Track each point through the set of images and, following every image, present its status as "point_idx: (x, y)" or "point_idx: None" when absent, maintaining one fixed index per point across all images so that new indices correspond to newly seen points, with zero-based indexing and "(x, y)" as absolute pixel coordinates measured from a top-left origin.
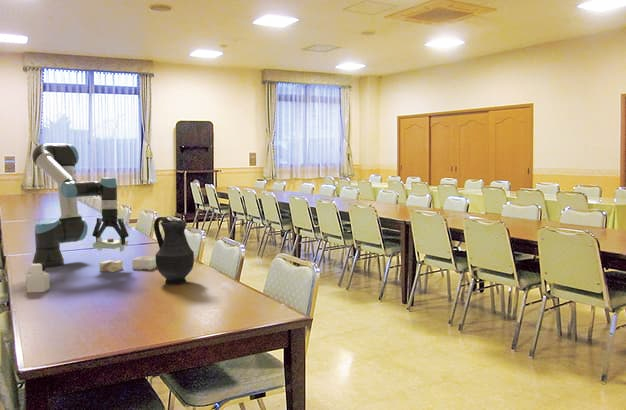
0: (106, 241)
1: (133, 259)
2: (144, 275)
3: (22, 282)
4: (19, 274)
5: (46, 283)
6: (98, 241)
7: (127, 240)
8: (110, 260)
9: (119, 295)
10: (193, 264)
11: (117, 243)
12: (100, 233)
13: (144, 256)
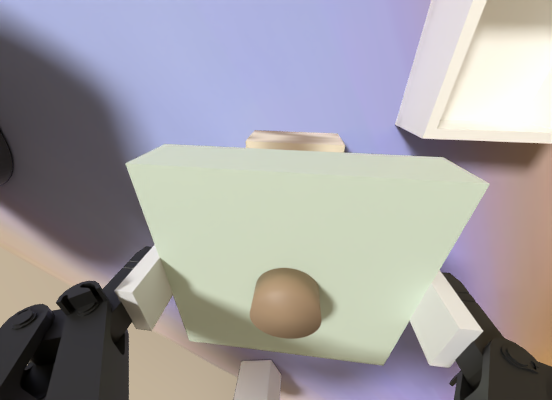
0: (239, 286)
1: (432, 138)
2: (490, 238)
3: (171, 330)
4: (73, 276)
5: (275, 385)
6: (170, 294)
7: (484, 190)
8: (259, 145)
9: (448, 386)
10: None
11: (396, 334)
12: (122, 384)
13: None
